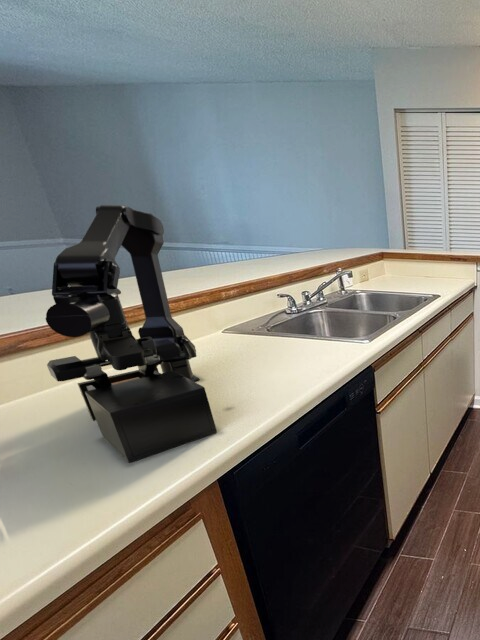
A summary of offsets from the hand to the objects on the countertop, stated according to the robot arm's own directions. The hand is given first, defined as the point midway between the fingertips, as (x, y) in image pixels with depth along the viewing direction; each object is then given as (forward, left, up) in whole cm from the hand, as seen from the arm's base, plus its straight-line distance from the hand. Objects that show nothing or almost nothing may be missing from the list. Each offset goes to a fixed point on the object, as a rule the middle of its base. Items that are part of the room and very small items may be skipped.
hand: (133, 398), depth 85 cm
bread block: (0, 0, -1) cm, 1 cm away
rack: (+1, 0, -4) cm, 4 cm away
